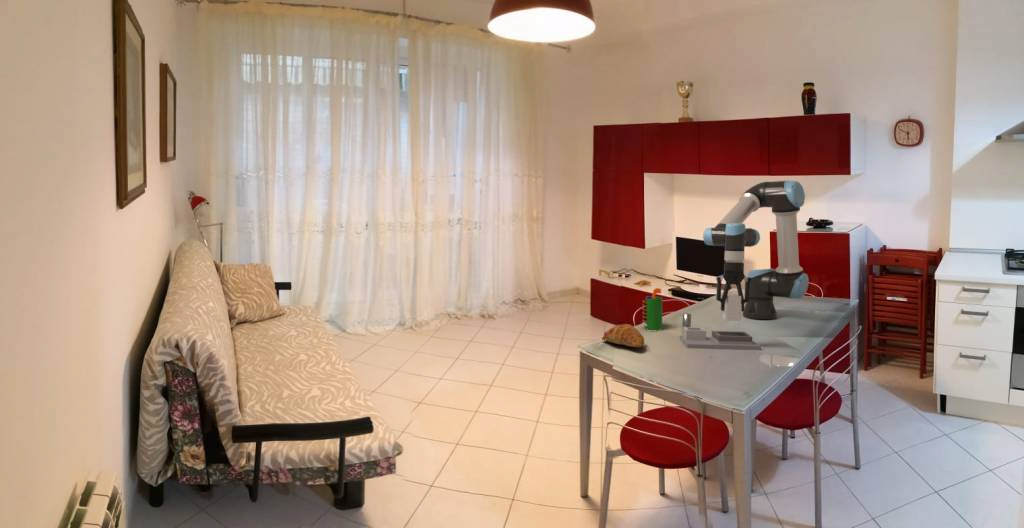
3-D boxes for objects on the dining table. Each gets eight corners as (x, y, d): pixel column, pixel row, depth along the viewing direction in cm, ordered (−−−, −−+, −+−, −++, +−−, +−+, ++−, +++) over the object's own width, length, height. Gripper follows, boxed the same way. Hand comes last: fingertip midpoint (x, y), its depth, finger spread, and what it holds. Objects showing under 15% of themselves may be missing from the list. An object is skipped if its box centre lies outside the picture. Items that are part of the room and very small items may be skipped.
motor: (638, 330, 285) (639, 286, 284) (657, 330, 286) (659, 287, 285) (645, 334, 275) (646, 289, 274) (665, 334, 276) (666, 289, 274)
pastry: (595, 341, 258) (596, 322, 257) (616, 338, 266) (616, 319, 265) (635, 349, 242) (636, 329, 241) (656, 345, 250) (656, 326, 250)
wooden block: (736, 318, 255) (737, 294, 254) (740, 321, 249) (741, 296, 248) (723, 318, 255) (724, 294, 255) (727, 320, 249) (728, 295, 249)
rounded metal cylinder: (689, 336, 272) (690, 313, 271) (691, 337, 268) (691, 314, 268) (681, 335, 272) (682, 313, 272) (682, 337, 269) (683, 314, 268)
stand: (747, 341, 261) (748, 328, 261) (760, 349, 243) (761, 336, 243) (679, 339, 264) (679, 326, 263) (687, 347, 246) (687, 333, 246)
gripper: (754, 261, 254) (752, 318, 255) (709, 260, 255) (707, 317, 257) (760, 262, 246) (757, 321, 248) (713, 261, 248) (711, 319, 249)
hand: (731, 318), depth 252 cm, fingers closed on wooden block, 5 cm apart
